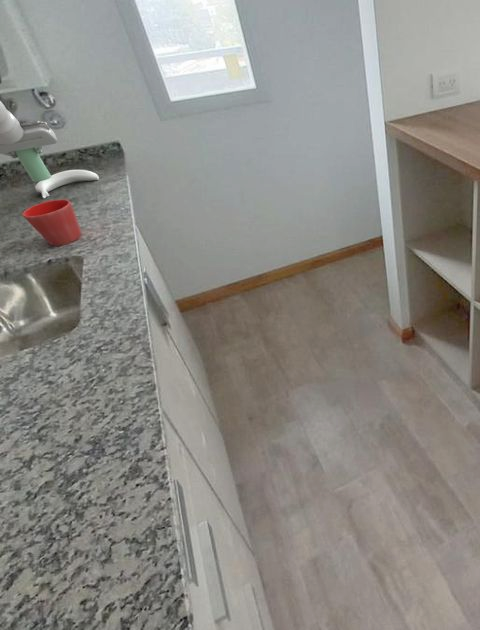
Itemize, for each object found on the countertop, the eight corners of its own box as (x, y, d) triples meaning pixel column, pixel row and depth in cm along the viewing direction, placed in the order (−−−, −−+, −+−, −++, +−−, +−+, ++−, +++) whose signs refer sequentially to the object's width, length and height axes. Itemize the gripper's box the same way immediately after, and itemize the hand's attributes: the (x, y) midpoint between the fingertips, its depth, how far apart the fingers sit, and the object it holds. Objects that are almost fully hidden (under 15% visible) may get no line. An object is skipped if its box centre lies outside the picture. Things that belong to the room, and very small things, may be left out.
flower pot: (88, 240, 123) (68, 208, 117) (42, 252, 119) (19, 219, 113) (89, 227, 130) (70, 195, 124) (45, 238, 126) (24, 206, 120)
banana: (101, 175, 168) (96, 187, 157) (45, 189, 163) (36, 203, 152) (93, 162, 165) (88, 174, 154) (36, 176, 160) (27, 189, 149)
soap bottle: (31, 183, 140) (1, 134, 131) (33, 178, 143) (3, 130, 134) (50, 179, 142) (22, 130, 133) (52, 174, 145) (23, 127, 136)
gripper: (40, 110, 129) (61, 137, 142) (-46, 124, 122) (-16, 151, 135) (48, 129, 129) (68, 155, 142) (-39, 144, 121) (-9, 170, 134)
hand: (27, 153), depth 138 cm, fingers closed on soap bottle, 5 cm apart
